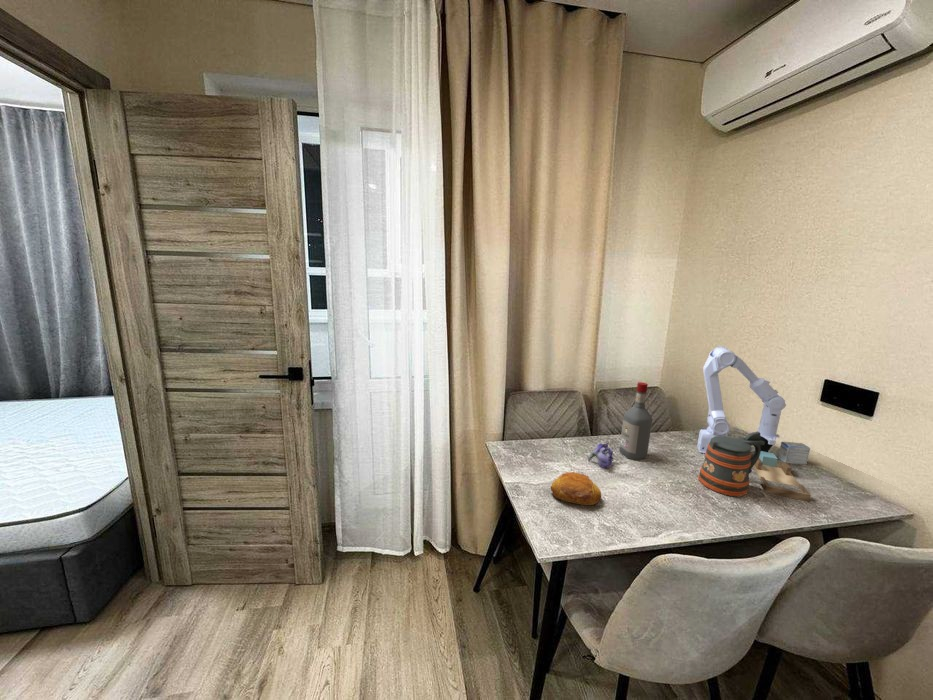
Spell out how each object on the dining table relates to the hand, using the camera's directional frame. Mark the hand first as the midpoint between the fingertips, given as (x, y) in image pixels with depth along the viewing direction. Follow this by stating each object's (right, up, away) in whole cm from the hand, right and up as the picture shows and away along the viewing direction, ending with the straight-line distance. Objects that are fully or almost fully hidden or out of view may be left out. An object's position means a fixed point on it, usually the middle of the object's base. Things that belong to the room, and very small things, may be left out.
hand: (762, 454), depth 155 cm
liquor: (-52, 0, +1) cm, 52 cm away
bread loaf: (-84, -6, -29) cm, 89 cm away
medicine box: (+9, -4, -3) cm, 10 cm away
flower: (-68, -2, -9) cm, 69 cm away
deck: (-7, -5, -14) cm, 16 cm away
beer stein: (-27, -6, -19) cm, 34 cm away
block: (-2, -2, -5) cm, 6 cm away
